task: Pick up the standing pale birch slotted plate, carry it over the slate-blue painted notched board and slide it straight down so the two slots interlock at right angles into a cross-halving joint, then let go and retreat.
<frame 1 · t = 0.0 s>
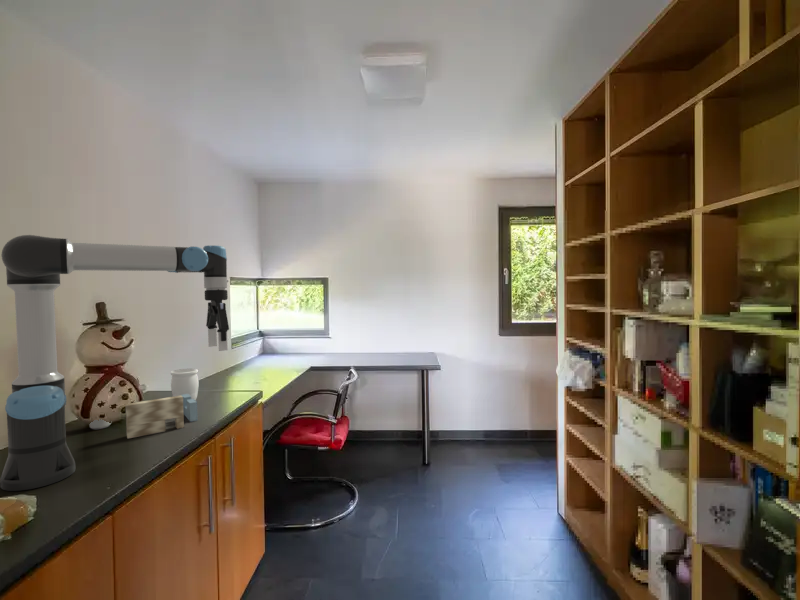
hand: (217, 348, 152), 28 cm above the counter, fingers open, 13 cm apart
birch plate: (156, 431, 147), on the counter
jar: (185, 406, 180), on the counter
blue board: (189, 416, 165), on the counter
beverage can: (100, 427, 153), on the counter
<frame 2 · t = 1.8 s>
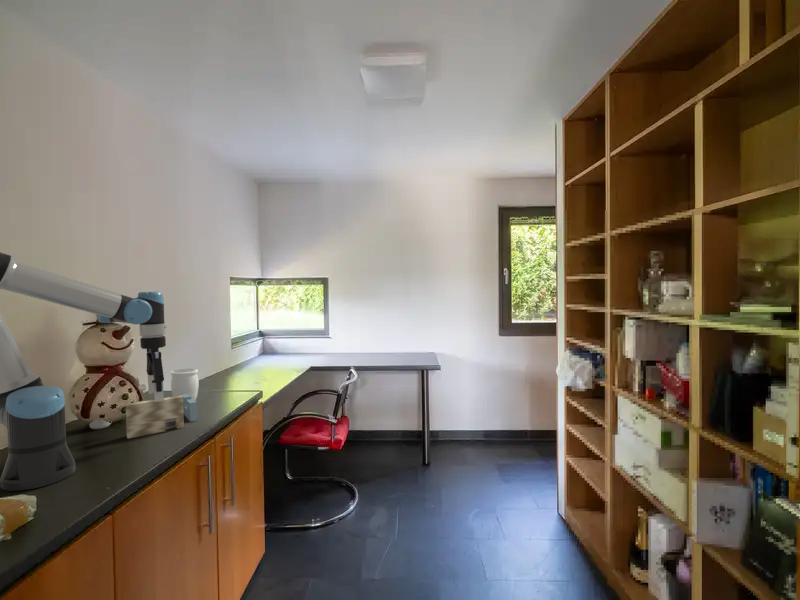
hand: (156, 397, 147), 12 cm above the counter, fingers open, 13 cm apart
nothing on the counter moved.
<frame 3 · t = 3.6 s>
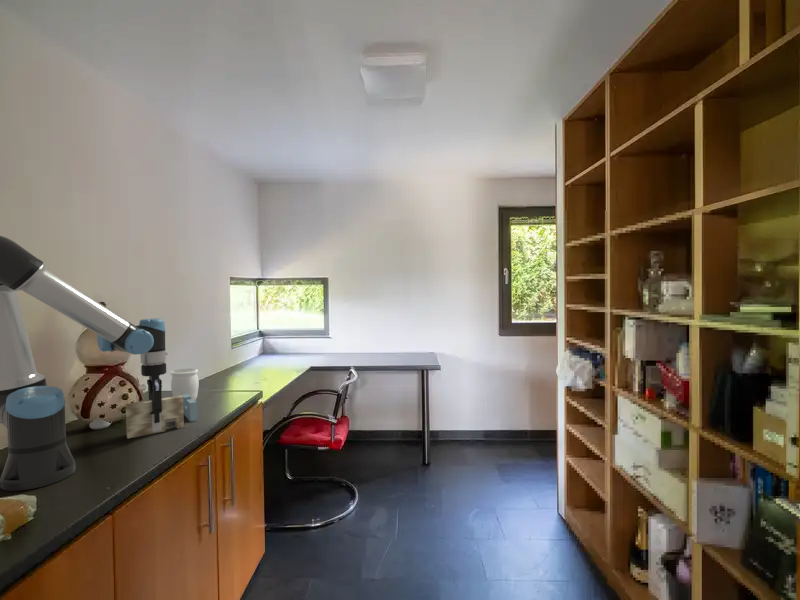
hand: (156, 430, 147), 1 cm above the counter, fingers closed on birch plate, 3 cm apart
birch plate: (156, 431, 147), on the counter, touching gripper
everything else where it was.
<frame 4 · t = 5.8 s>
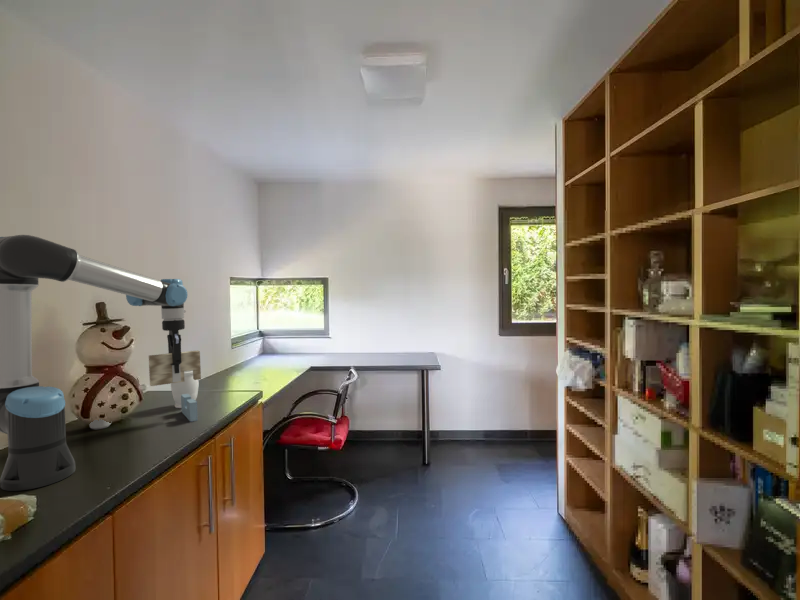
hand: (175, 380, 162), 15 cm above the counter, fingers closed on birch plate, 3 cm apart
birch plate: (176, 381, 162), point 14 cm above the counter, touching gripper
everything else where it was.
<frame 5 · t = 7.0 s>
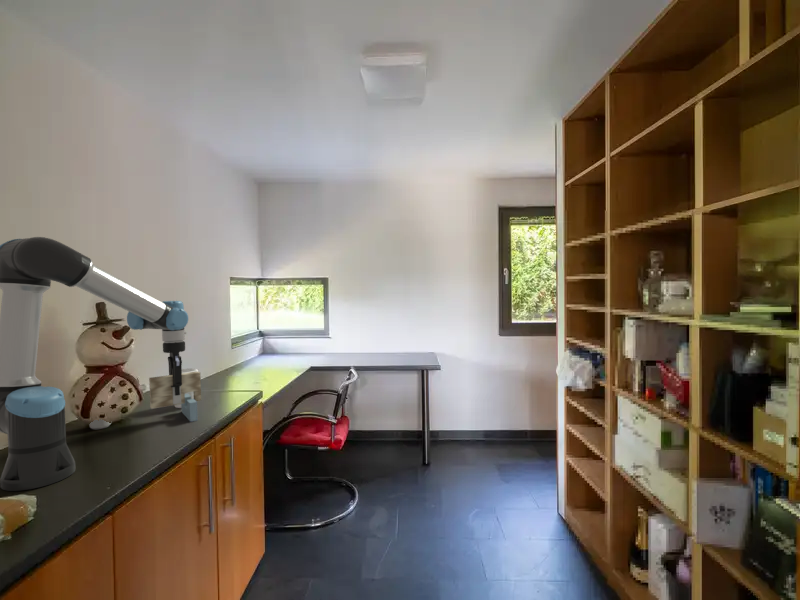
hand: (176, 402, 162), 6 cm above the counter, fingers closed on birch plate, 3 cm apart
birch plate: (176, 403, 162), point 6 cm above the counter, touching gripper
everything else where it was.
when the fingers open (2 cm above the counter, at t = 8.0 s): birch plate drops 1 cm, on the counter.
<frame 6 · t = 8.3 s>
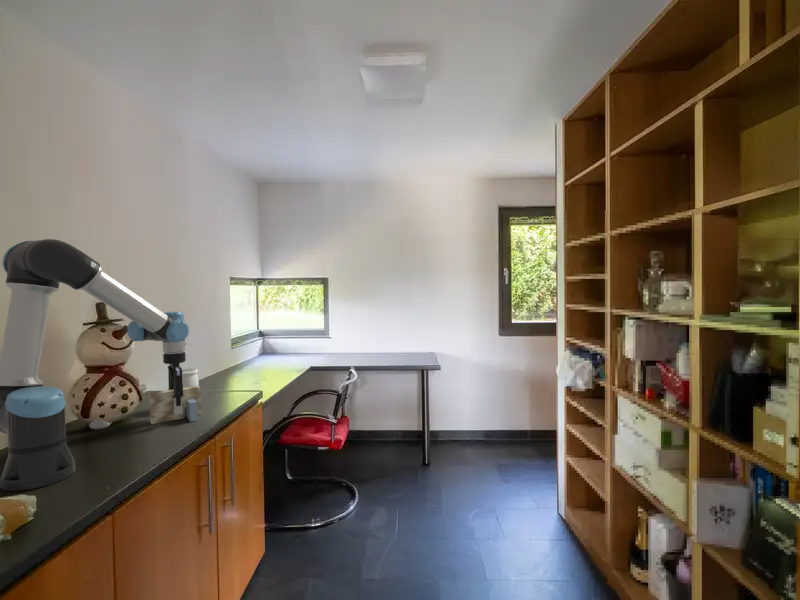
hand: (176, 411, 162), 3 cm above the counter, fingers open, 7 cm apart
birch plate: (176, 418, 162), on the counter
everything else where it was.
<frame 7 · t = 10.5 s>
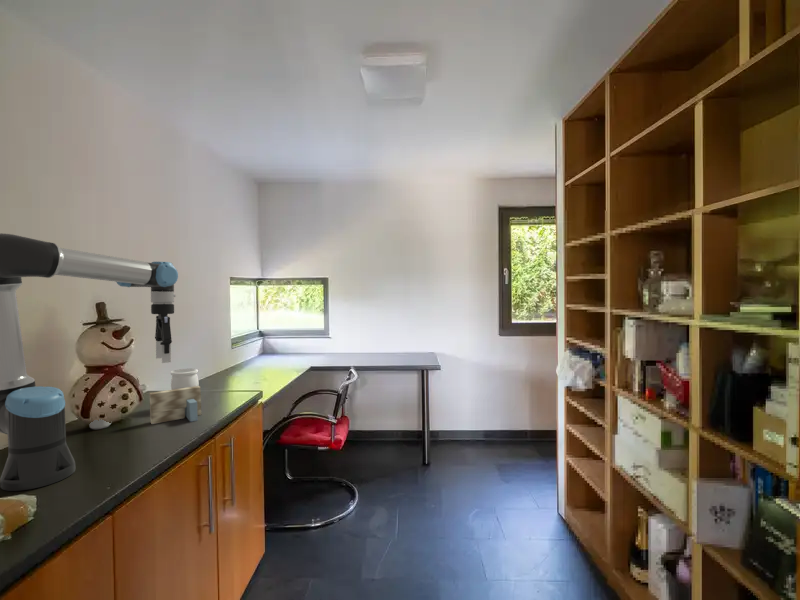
hand: (163, 360, 158), 23 cm above the counter, fingers open, 13 cm apart
nothing on the counter moved.
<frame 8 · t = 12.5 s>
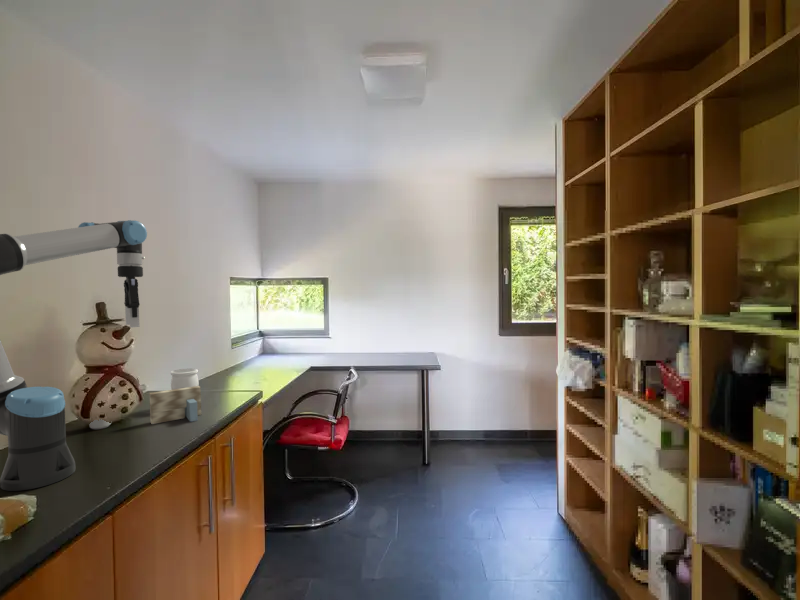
hand: (132, 325, 150), 37 cm above the counter, fingers open, 13 cm apart
nothing on the counter moved.
at the end: birch plate 0.0 cm from the target spot on the counter beside the blue board, on the counter; birch plate tilted 0°; the gripper is holding nothing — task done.
